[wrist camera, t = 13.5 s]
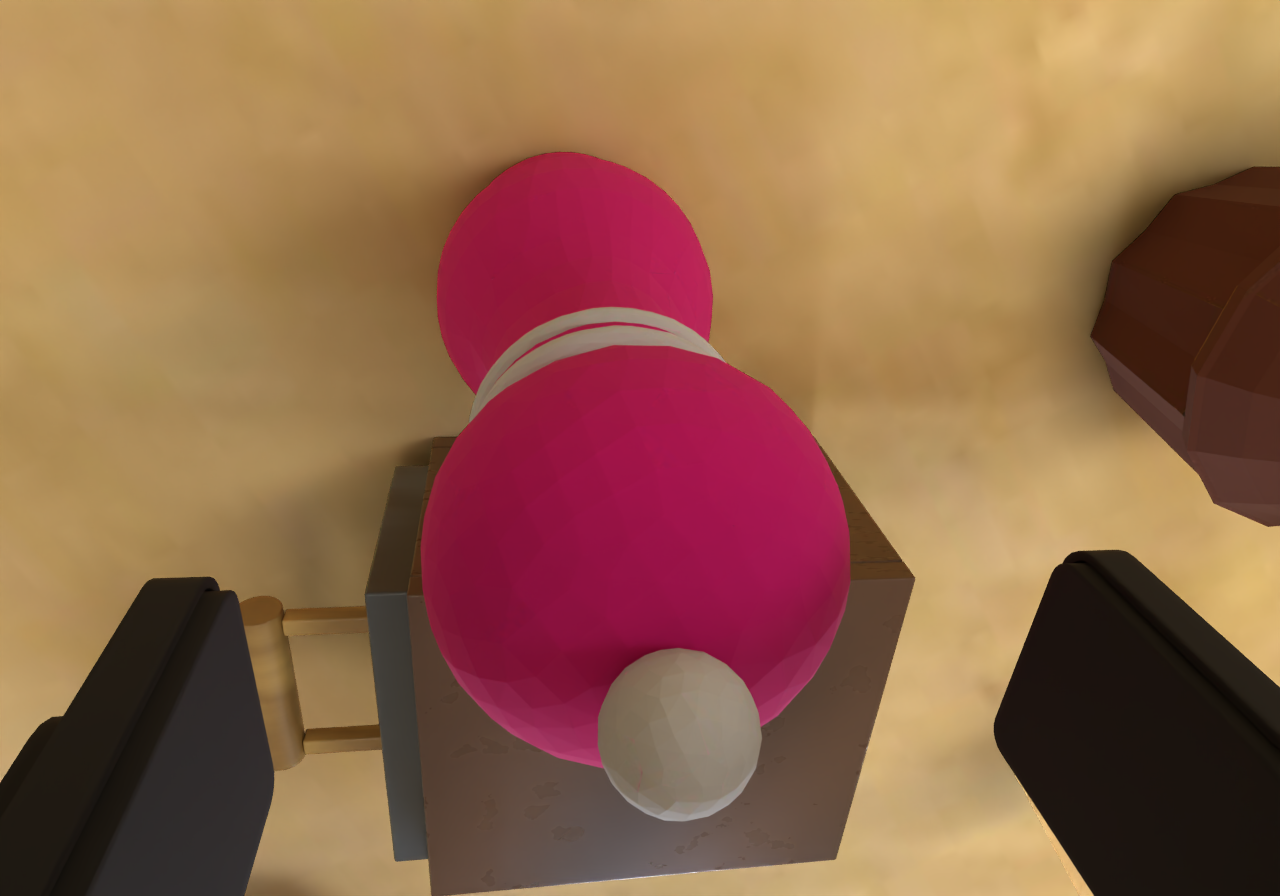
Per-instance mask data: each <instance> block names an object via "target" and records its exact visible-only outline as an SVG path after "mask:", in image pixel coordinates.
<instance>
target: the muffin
mask: <svg viewBox="0 0 1280 896" xmlns="http://www.w3.org/2000/svg"><path fill="white" fill-rule="evenodd" d="M1090 337H1091V338H1092V340H1093V342H1094V343H1095V345H1096V347H1097V348H1098V350H1099V352H1100V354H1101V355H1102V357H1103V359H1104V360H1105V362H1106V365H1107V369H1108V372H1109V376H1110V379H1111V383H1112V386H1113V390H1114V391H1115V392H1116V393H1117V394H1118V395H1119V396H1120V397H1121V398H1122V399H1123V400H1124V401H1125V402H1126V403H1127V404H1128V405H1129V406H1130V407H1131V408H1132V409H1133V410H1134V411H1135V412H1136V413H1137V414H1138V415H1139V416H1140V417H1141V418H1142V419H1143V420H1144V421H1145V422H1146V423H1147V424H1148V425H1149V426H1150V427H1151V428H1152V429H1153V430H1154V431H1155V432H1156V433H1157V434H1158V435H1159V436H1160V437H1161V438H1162V439H1163V440H1164V441H1165V442H1166V443H1167V444H1168V445H1169V446H1170V447H1171V448H1172V449H1173V450H1174V451H1175V452H1176V453H1177V454H1178V455H1179V456H1180V457H1181V458H1182V459H1183V460H1184V461H1186V462H1187V463H1188V464H1189V465H1190V466H1191V467H1192V468H1193V469H1194V470H1195V471H1196V472H1197V473H1198V474H1199V476H1200V478H1201V479H1202V481H1203V483H1204V485H1205V487H1206V489H1207V491H1208V493H1209V495H1210V497H1211V499H1212V501H1213V503H1214V504H1217V505H1219V506H1221V507H1224V508H1226V509H1228V510H1231V511H1233V512H1235V513H1238V514H1240V515H1242V516H1245V517H1247V518H1249V519H1251V520H1254V521H1256V522H1258V523H1261V524H1263V525H1265V526H1268V527H1271V526H1280V167H1252V168H1250V169H1247V170H1245V171H1243V172H1241V173H1239V174H1236V175H1234V176H1232V177H1230V178H1227V179H1225V180H1223V181H1221V182H1218V183H1216V184H1214V185H1210V186H1206V187H1202V188H1198V189H1194V190H1191V191H1187V192H1183V193H1179V194H1175V195H1174V196H1173V198H1172V199H1171V200H1170V201H1169V202H1168V204H1167V205H1166V206H1165V207H1164V208H1163V210H1162V211H1161V212H1160V213H1159V215H1158V216H1157V217H1156V218H1155V219H1154V221H1153V222H1152V223H1151V224H1150V225H1149V227H1148V228H1147V229H1146V230H1145V231H1144V232H1143V233H1142V234H1141V235H1140V236H1139V237H1138V238H1137V239H1136V240H1135V241H1134V242H1133V243H1131V244H1130V245H1129V246H1128V247H1127V248H1126V249H1125V250H1124V251H1123V252H1122V253H1121V254H1120V255H1119V256H1117V257H1116V258H1115V259H1114V260H1113V261H1112V264H1111V269H1110V274H1109V279H1108V284H1107V289H1106V294H1105V299H1104V302H1103V305H1102V307H1101V310H1100V313H1099V315H1098V318H1097V320H1096V323H1095V326H1094V328H1093V331H1092V334H1091V336H1090Z"/></svg>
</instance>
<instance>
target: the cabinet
mask: <svg viewBox="0 0 1280 896" xmlns="http://www.w3.org/2000/svg"><path fill="white" fill-rule="evenodd" d="M456 438H457V437H436V438H434V439H433V444H432V450H431V455H430V461H429V467H428V473H427V479H426V485H425V491H424V497H423V503H422V509H421V515H420V521H419V527H418V533H417V539H416V545H415V551H414V557H413V563H412V569H411V575H410V580H409V585H408V591H407V606H408V618H409V630H410V642H411V654H412V667H413V679H414V691H415V703H416V715H417V727H418V739H419V751H420V764H421V776H422V788H423V800H424V812H425V824H426V836H427V848H428V861H429V873H430V885H431V895H432V896H446V895H457V894H468V893H478V892H489V891H500V890H511V889H522V888H533V887H544V886H554V885H565V884H576V883H587V882H598V881H609V880H620V879H631V878H641V877H652V876H663V875H674V874H685V873H696V872H707V871H717V870H728V869H739V868H750V867H761V866H772V865H783V864H793V863H804V862H815V861H826V860H835V859H836V857H837V853H838V850H839V846H840V843H841V839H842V836H843V832H844V829H845V825H846V822H847V818H848V814H849V811H850V807H851V804H852V800H853V797H854V793H855V790H856V786H857V783H858V779H859V776H860V772H861V769H862V765H863V762H864V758H865V754H866V751H867V747H868V744H869V740H870V737H871V733H872V730H873V726H874V723H875V719H876V716H877V712H878V709H879V705H880V702H881V698H882V695H883V691H884V687H885V684H886V680H887V677H888V673H889V670H890V666H891V663H892V659H893V656H894V652H895V649H896V645H897V642H898V638H899V635H900V631H901V628H902V624H903V620H904V617H905V613H906V610H907V606H908V603H909V599H910V596H911V592H912V589H913V585H914V582H915V577H914V575H913V574H912V573H911V571H910V570H909V568H908V567H907V566H906V564H905V563H904V562H902V559H901V558H900V556H899V555H898V554H897V552H896V551H895V549H894V548H893V547H892V545H891V544H890V542H889V541H888V540H887V538H886V537H885V535H884V534H883V533H882V531H881V530H880V528H879V527H878V526H877V524H876V523H875V521H874V520H873V519H872V517H871V516H870V514H869V513H868V511H867V510H866V509H865V507H864V506H863V504H862V503H861V502H860V500H859V499H858V497H857V496H856V495H855V493H854V492H853V490H852V489H851V488H850V486H849V485H848V483H847V482H846V481H845V479H844V478H843V476H842V475H841V474H840V472H839V471H838V469H837V468H836V467H835V465H834V464H833V462H832V461H831V460H830V458H829V457H828V455H827V454H826V453H825V451H824V450H823V448H822V447H821V446H820V445H819V443H818V442H817V440H816V439H815V438H814V436H813V438H814V439H815V441H816V443H817V445H818V446H819V448H820V450H821V452H822V454H823V455H824V457H825V459H826V461H827V463H828V465H829V467H830V469H831V472H832V474H833V476H834V478H835V481H836V483H837V485H838V488H839V491H840V494H841V497H842V500H843V504H844V509H845V514H846V518H847V523H848V528H849V536H850V587H849V592H848V597H847V602H846V608H845V612H844V614H843V617H842V619H841V622H840V625H839V627H838V630H837V632H836V635H835V637H834V640H833V642H832V645H831V647H830V649H829V651H828V653H827V654H826V656H825V658H824V659H823V661H822V663H821V664H820V666H819V668H818V670H817V671H816V673H815V675H814V676H813V678H812V679H811V680H810V681H809V682H808V683H807V684H806V685H805V686H804V687H803V689H802V690H801V691H800V692H799V693H798V694H797V695H796V696H795V697H794V698H793V700H792V701H791V702H790V703H789V704H788V705H787V706H786V707H785V708H784V709H783V711H782V712H781V713H780V714H779V715H778V716H777V717H775V718H774V719H772V720H771V721H769V722H768V723H766V724H765V725H763V726H762V727H761V735H762V741H761V747H760V752H759V757H758V761H757V765H756V769H755V771H754V773H753V774H752V776H751V778H750V780H749V781H748V783H747V785H746V786H745V788H744V790H743V791H742V793H741V794H740V795H739V796H738V797H737V798H736V799H734V800H733V801H732V802H731V803H730V804H729V805H728V806H726V807H724V808H722V809H721V810H719V811H717V812H716V813H714V814H712V815H710V816H708V817H703V818H698V819H694V820H689V821H665V820H662V819H659V818H656V817H654V816H651V815H648V814H646V813H644V812H642V811H641V810H639V809H638V808H636V807H635V806H633V805H632V804H630V803H629V802H627V800H626V799H625V798H624V797H623V796H622V795H621V794H620V792H619V791H618V790H617V789H616V788H615V787H614V786H613V784H612V783H611V781H610V779H609V777H608V775H607V773H606V771H605V769H604V768H600V767H595V766H591V765H587V764H582V763H578V762H573V761H569V760H565V759H560V758H557V757H555V756H553V755H551V754H549V753H547V752H545V751H543V750H541V749H539V748H537V747H535V746H533V745H531V744H529V743H527V742H525V741H524V740H522V739H520V738H518V737H516V736H514V735H512V734H511V733H510V732H508V731H507V730H506V729H504V728H503V727H502V726H501V725H499V724H498V723H497V722H495V721H494V720H493V719H491V718H490V717H489V716H488V714H487V713H486V712H485V711H484V710H483V709H482V708H481V707H480V706H479V705H478V704H477V703H476V702H475V701H474V700H473V699H472V698H471V696H470V695H469V694H468V693H467V692H466V691H465V690H464V689H463V688H462V687H461V686H460V684H459V683H458V682H457V680H456V678H455V676H454V675H453V673H452V671H451V669H450V668H449V666H448V664H447V662H446V661H445V659H444V657H443V655H442V654H441V651H440V649H439V646H438V644H437V642H436V639H435V637H434V634H433V632H432V630H431V626H430V622H429V618H428V614H427V609H426V604H425V599H424V594H423V588H422V567H421V539H422V531H423V522H424V516H425V512H426V509H427V505H428V501H429V498H430V494H431V491H432V487H433V483H434V480H435V477H436V475H437V473H438V471H439V469H440V467H441V466H442V464H443V462H444V460H445V458H446V456H447V455H448V453H449V451H450V449H451V447H452V445H453V443H454V442H455V440H456Z"/></svg>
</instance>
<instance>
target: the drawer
mask: <svg viewBox="0 0 1280 896" xmlns="http://www.w3.org/2000/svg"><path fill="white" fill-rule="evenodd" d="M428 467H429V466H396V467H395V470H394V474H393V478H392V482H391V486H390V491H389V495H388V499H387V503H386V507H385V511H384V516H383V520H382V524H381V528H380V532H379V536H378V541H377V545H376V549H375V553H374V557H373V561H372V566H371V570H370V574H369V578H368V582H367V586H366V591H365V603H366V606H357V607H329V608H302V609H287V610H286V611H285V614H284V610H283V605H282V603H281V601H280V600H278V599H277V598H275V597H271V596H257V597H253V598H249V599H247V600H245V601H243V602H241V603H239V605H240V610H241V615H242V619H243V624H244V629H245V634H246V638H247V643H248V648H249V653H250V657H251V662H252V667H253V672H254V676H255V681H256V686H257V691H258V695H259V700H260V705H261V710H262V714H263V719H264V724H265V729H266V733H267V738H268V743H269V748H270V752H271V757H272V762H273V768H274V770H275V771H280V770H286V769H289V768H291V767H293V766H295V765H297V764H298V763H299V762H300V761H302V759H303V758H304V757H305V755H306V754H320V753H335V752H351V751H367V750H382V753H383V762H384V771H385V780H386V789H387V797H388V806H389V815H390V824H391V833H392V842H393V851H394V859H395V861H397V862H398V861H409V860H421V859H428V848H427V836H426V824H425V812H424V800H423V788H422V776H421V764H420V751H419V739H418V727H417V715H416V703H415V691H414V679H413V667H412V654H411V642H410V630H409V618H408V606H407V591H408V585H409V580H410V575H411V569H412V563H413V557H414V551H415V545H416V539H417V533H418V527H419V521H420V515H421V509H422V503H423V497H424V491H425V485H426V479H427V473H428ZM367 632H369V638H370V647H371V656H372V665H373V673H374V682H375V691H376V700H377V709H378V718H379V725H365V726H348V727H331V728H314V729H307V730H306V733H305V731H304V725H303V719H302V713H301V708H300V702H299V696H298V690H297V685H296V679H295V673H294V667H293V662H292V656H291V650H290V644H289V639H288V636H295V635H319V634H343V633H367Z"/></svg>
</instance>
